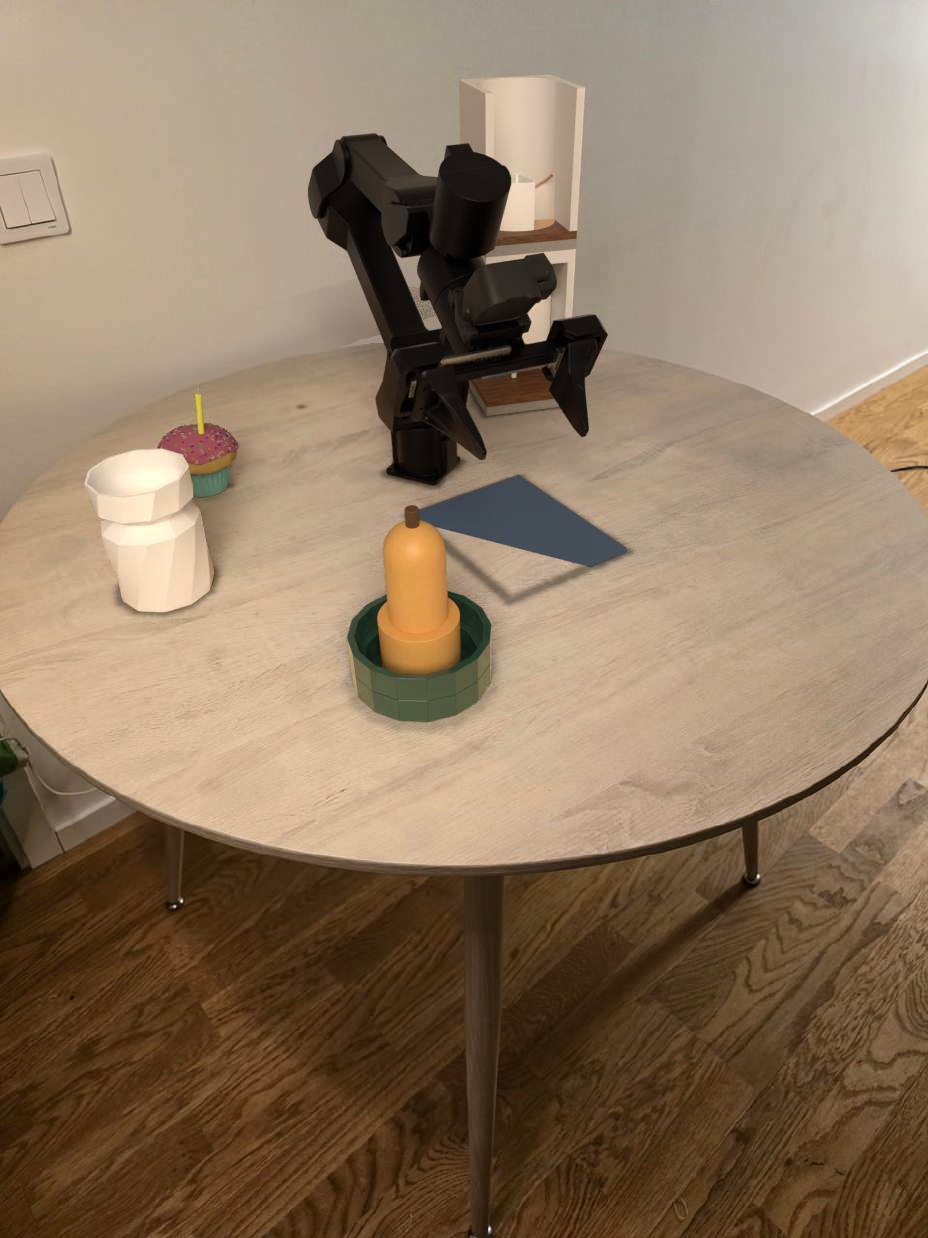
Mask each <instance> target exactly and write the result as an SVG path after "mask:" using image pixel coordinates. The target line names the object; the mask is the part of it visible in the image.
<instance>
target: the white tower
mask: <svg viewBox="0 0 928 1238" xmlns="http://www.w3.org/2000/svg"><path fill="white" fill-rule="evenodd" d="M458 94H459V96H458V97H459V99H458V100H459V101H458V103H459V104H458V105H459V106H458V107H459V144H465V143H469V144H470V146H471V148H472V150H473V152H477V153H481V154H485V155H487V156H489V157H491V158H493V159H495V160H496V161H498V162H499V163H500V164H501V165H504V166H506V167H507V169H508V170H509V172H510V175H511V188H510V191H509V195H508V199H507V203H506V207H505V211H504V215H503V218H502V222H501V226H500V230H499V234H498V238H497V241H496V245H495V249H494V250H491V251H490V252H489V253H487V254H486V255H484V256H482V258H483V260H484V262H485V264H491V263H497V262H504V261H510V260H517V259H523V258H524V257H525V256H526V255H532V254H538V253H544V254H545V255H546V257H547V258H548V260H549V261H550V263H551V264H552V266H553V268H554V272H555V275H556V279H557V287H556V289H555V290H554V291H553V292H552V293H551V295H550V296H549V297H548V298H547V299H545V300H541V301H540V302H539V303H536V304H535V305H534V306H533V307H532V309H531V310H530V311H529V312H528V313H527V314H528V316H529V318H530V320H531V322H532V323H531V326H530V329H529V332H527V333H523V335H522V338H523V340H524V343H525V344H530V343H536V342H541V341H546V339H547V336H548V334H549V331H550V328H551V326H552V323H553V320H559V319H564V318H570V317H573V307H574V291H575V290H574V289H575V274H576V273H575V272H576V256H577V237H578V223H579V222H578V221H579V205H580V203H579V202H580V186H581V172H582V171H581V169H582V154H583V153H582V151H583V137H584V117H585V101H586V100H585V99H586V97H585V96H586V87H585V86H582V85H579V84H578V83H574V82H572V81H569V80H567V79H564V78H561V77H559V76H556V75H553V74H551V73H549V74H533V75H531V74H529V75H514V76H513V75H511V76H496V77H480V78H479V77H477V78H461V79H458ZM551 383H552V382H550V381H548V380H546V378H545V376H544V374H543V372H542V369H541V368H538V369H533V370H528V371H523V372H518V373H513V374H508V375H503V376H497V377H492V378H487V379H482V378H478V379H472V380H469V391H471V393H472V395H473V396H474V398H475V399H476V401H477V402H478V405H479V406H480V407H481V409H482V411H483V413H484V414H485V416H486V417H490V416H498V415H499V416H500V415H505V414H506V415H507V414H514V413H522V412H531V411H537V410H538V411H539V410H544V409H554V408H560V407H559V405H558V404H557V402H556V401H555V399H554V398H553V396H552V394H551V393H550V391H549V388H550V386H551Z"/></svg>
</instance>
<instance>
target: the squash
mask: <svg viewBox="0 0 928 1238" xmlns="http://www.w3.org/2000/svg"><path fill="white" fill-rule="evenodd" d="M419 510H420V509H419V507H418V506H417V505H416V504H415V505H413V504H410V505H409V504H408V505H407V506H405V507H404V510H403V511H404V520H403V521H399V523H397V524H395V525H394V526H393V527H392V528H391V529H390V530H389V531H388V532H387V534H386V536H385V538H384V540H383V544H382V558H383V561H382V562H383V569H384V570H383V571H384V580H385V581H384V582H385V590H386V591H385V592H386V594H387V602H386V603H385V604H384V605H383V606H382V607H381V609H380V610H379V613H378V616H377V622H378V631H379V641H380V650H381V660H382V668H385V669H388V670H390V671H393V672H396V673H412V674H428V673H432V672H436V671H441V670H445V669H449V668H452V667H454V666H455V665H457V664H459V663H460V662H461V635H460V612H459V609H458V607H457V605H456V604H455V603H454V602H453V601H452V600H451V599H449V598H448V594H447V591H448V575H447V573H448V572H447V547H446V543H445V540H444V537H443V535H442V534H441V532H440V531H439V530H438V528H437V527H434V526H433V525H431V524H430V523H428V522H426V521H423V520H419Z"/></svg>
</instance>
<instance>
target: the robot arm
mask: <svg viewBox="0 0 928 1238" xmlns="http://www.w3.org/2000/svg"><path fill="white" fill-rule="evenodd" d="M443 157H444V158H443V160H442V162H441V163H440V165H439V168H438V173H437V176H432V175H429V176H428V175H423V174H420V173H419V172H417V171H416V170H415V169H414V168H413V167H412V166H411V165H410V164H409V163H407V162H406V161H405V160H404V159H403V158H402V157H401V156H399V154H397V153H396V152H395V151H394V150H393V149H392V148H390V147H389V146H388V142H387V140H386V138H385V136H384V135H381V134H380V135H378V133H376V132H371V133H360V134H351V135H342V136H341V137H340V139H335V141H334V144H333V146H332V150H331V152H330V153H328V154H327V155H326V156H325V157H324V158H322V160H320V161H319V162H318V163H317V164H316V165H314V166H313V167H312V169H311V174H310V177H309V181H308V186H307V199H308V205H309V209H310V213H311V215H312V217H313V219H315V220H317V222H318V224H319V225H320V228H321V230H322V232H323V234H324V235H325V238H326V240H328V241H330V242H332V243H333V244H335V245H336V246H338V247H340V248H341V249H343V250H344V251H346V253H347V255H348V257H349V260H350V262H351V265H352V267H353V270H354V272H355V275H356V277H357V279H358V282H359V285H360V287H361V289H362V292H363V294H364V297H365V300H366V303H367V304H368V307H369V309H370V313H371V314H372V317H373V319H374V322H375V324H376V327H377V330H378V332H379V334H380V337H381V339H382V342H383V345H384V347H385V349H386V357H385V363H384V370H383V376H382V382H381V384H380V385H379V389H378V390H377V392H376V395H375V397H374V398H375V405H376V411H377V415H378V418H379V419H380V421H381V422H382V423H383V424H384V425H385V426H386V428H387V429H388V430H389V431H390V439H391V440H390V441H391V452H392V453H391V454H392V463H391V464H390V465H389V466H388V467H386V469H385V472H386V475H389V476H393V477H396V478H401V479H405V480H409V481H414V482H417V483H422V484H426V485H430V486H435V485H438V484H439V483H440V482H442V480H443V479H444V478H445V477H446V476H447V475H448V474H450V473H451V472H452V470H454V469H455V468H456V467H457V465H459V464H460V463H461V457H460V456H459V455H458V445H459V446H460V447H462V448H463V449H464V450H466V451H467V452H468V453H469V454H471V455H472V456H473V457H475V458H476V459H478V460H479V461H485V460H486V457H487V455H488V450H487V448H486V445H485V442H484V439H483V436H482V435H481V432H480V431H479V428H478V427H477V425H476V423H475V421H474V419H473V416H472V415H471V412H470V411H469V409H468V407H467V403H468V396H469V391H470V388H469V380H472V379H478V378H482V379H487V378H492V377H497V376H503V375H508V374H513V373H518V372H523V371H528V370H533V369H538V368H541V369H542V372H543V374H544V376H545V378H546V380H548V381H550V382H552V383H551V386H550V388H549V391H550V393H551V394H552V396H553V398H554V399H555V401H556V402H557V404H558V405H559V407H558V408H560V410H561V411H562V413H563V415H564V417H565V418H566V419H567V421H568V422H569V424H570V426H571V427H572V429H573V430H574V431H575V432H576V433H577V434H578V435H579V437H580V438H585V437H586V436H587V435H588V434H589V431H590V423H589V422H590V421H589V413H588V403H587V392H586V378H587V377H589V376H590V375H591V373H592V371H593V368H594V366H595V364H596V362H597V360H598V358H599V355H600V353H601V351H602V349H603V348H604V345H605V343H606V341H607V338H608V336H609V333H608V332H607V330H606V328H605V327H604V324H603V322H602V321H601V319H600V318H599V317H598V316H597V315H596V314H594V313H593V314H591V313H590V314H589V313H586V314H582V315H576V316H572V317H570V318H564V319H559V320H553V323H552V326H551V328H550V331H549V334H548V336H547V339H546V341H541V342H536V343H530V344H525V343H524V340H523V338H522V335H523V333H527V332H529V329H530V326H531V323H532V322H531V320H530V318H529V316H528V314H527V313H528V312H529V311H530V310H531V309H532V307H533V306H534V305H535V304H536V303H539V302H540V301H541V300H545V299H547V298H548V297H549V296H550V295H551V293H552V292H553V291H554V290H555V289H556V287H557V279H556V275H555V272H554V268H553V266H552V264H551V263H550V261H549V260H548V258H547V257H546V255H545V254H544V253H538V254H532V255H526V256H525V257H524V258H523V259H517V260H510V261H504V262H497V263H491V264H485V262H484V260H483V258H482V256H484V255H486V254H487V253H489V252H490V251H491V250H494V249H495V245H496V241H497V238H498V234H499V230H500V226H501V222H502V218H503V215H504V211H505V207H506V203H507V199H508V195H509V191H510V188H511V175H510V172H509V170H508V169H507V167H506V166H504V165H501V164H500V163H499V162H498V161H496V160H495V159H493V158H491V157H489V156H487V155H485V154H481V153H477V152H473V150H472V148H471V146H470V144H469V143H465V144H460V143H457V144H449V145H448V144H447V145H446V146H445V150H444V156H443ZM397 256H398V257H399V258H400V259H406V258H413V257H419V258H418V261H417V265H416V273H417V276H418V279H419V281H420V283H419V298H420V301H422V302H428V301H429V303H430V304H431V306H432V309H433V311H434V313H435V315H436V318H437V320H438V322H439V324H440V326H441V328H440V327H439V328H436V329H428V328H427V327H426V325H425V323H424V320H423V318H422V316H421V313H420V311H419V308H418V306H417V304H416V301H415V300H414V297H413V294H412V292H411V289H410V287H409V285H408V283H407V280H406V278H405V275H404V273H403V271H402V268H401V265H400V264H399V261H398V259H397Z"/></svg>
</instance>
